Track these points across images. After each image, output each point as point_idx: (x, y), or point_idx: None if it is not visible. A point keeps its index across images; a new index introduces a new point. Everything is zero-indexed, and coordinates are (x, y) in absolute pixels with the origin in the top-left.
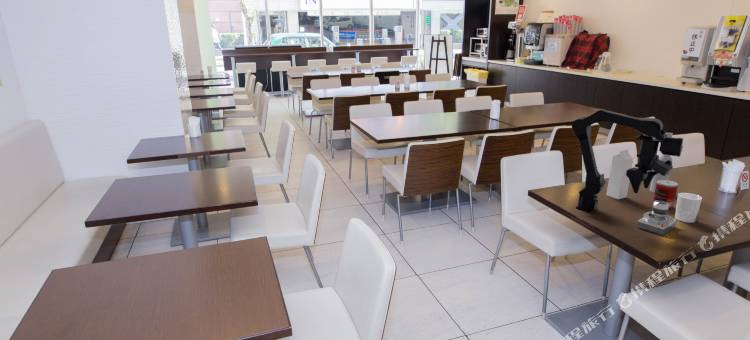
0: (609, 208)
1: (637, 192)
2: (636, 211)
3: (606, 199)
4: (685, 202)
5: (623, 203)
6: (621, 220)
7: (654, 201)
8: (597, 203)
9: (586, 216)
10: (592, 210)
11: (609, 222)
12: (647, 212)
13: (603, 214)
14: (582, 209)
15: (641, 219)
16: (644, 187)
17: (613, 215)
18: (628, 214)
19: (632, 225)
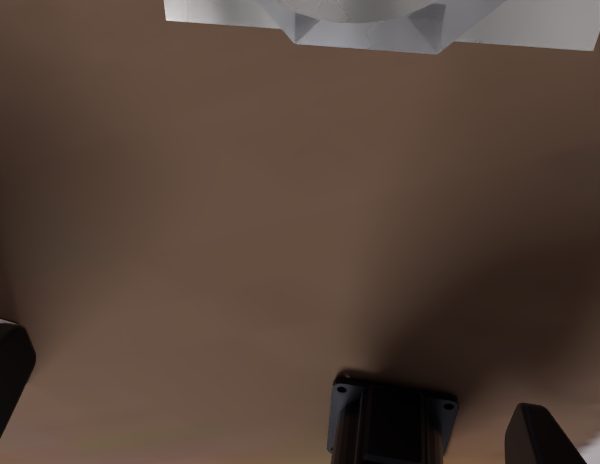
0: (244, 324)
1: (549, 422)
2: (112, 165)
3: (92, 370)
4: None
5: (48, 281)
6: (456, 195)
7: (380, 6)
8: (373, 429)
9: (560, 395)
10: (424, 396)
11: (592, 254)
12: (335, 36)
13: (416, 326)
14: (448, 438)
15: (535, 28)
16: (34, 364)
17: (377, 271)
18: (246, 193)
19: (532, 78)
